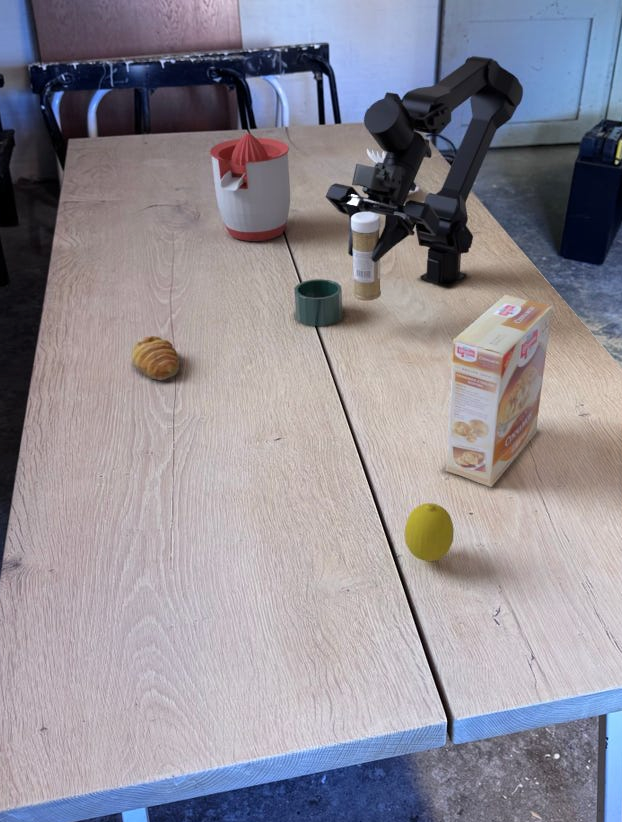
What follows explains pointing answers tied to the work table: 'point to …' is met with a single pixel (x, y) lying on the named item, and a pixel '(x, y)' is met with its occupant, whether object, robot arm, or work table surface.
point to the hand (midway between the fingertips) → (361, 257)
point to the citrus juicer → (252, 186)
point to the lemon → (429, 532)
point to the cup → (318, 302)
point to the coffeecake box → (496, 388)
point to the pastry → (155, 358)
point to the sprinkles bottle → (365, 255)
